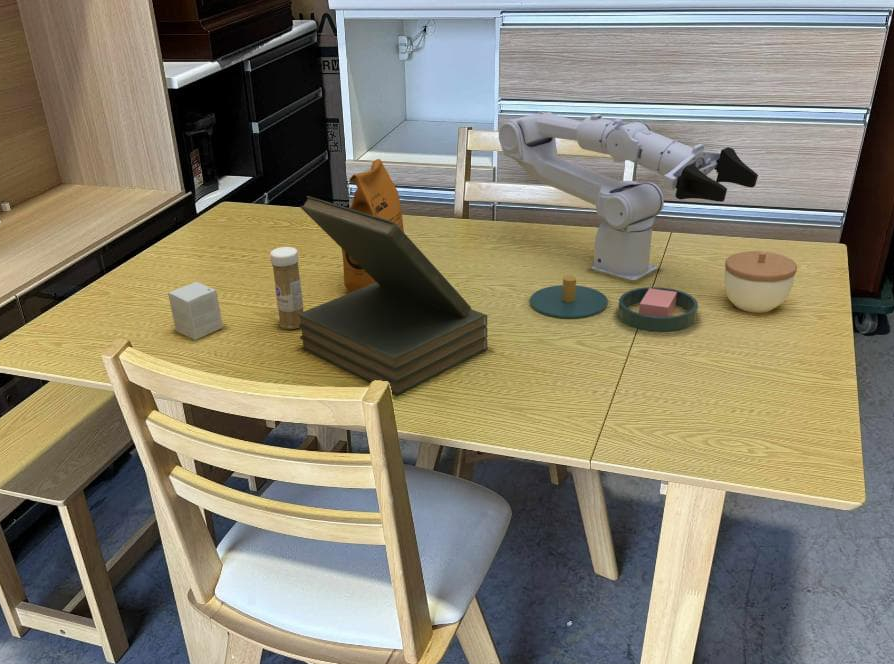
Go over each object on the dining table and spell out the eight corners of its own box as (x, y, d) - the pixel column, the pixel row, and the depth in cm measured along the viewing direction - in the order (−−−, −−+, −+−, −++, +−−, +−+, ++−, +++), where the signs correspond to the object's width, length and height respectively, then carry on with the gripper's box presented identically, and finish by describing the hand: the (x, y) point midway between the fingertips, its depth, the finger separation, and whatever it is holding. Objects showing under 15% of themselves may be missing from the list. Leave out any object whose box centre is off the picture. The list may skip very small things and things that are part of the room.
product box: (204, 319, 154) (197, 280, 150) (224, 328, 150) (217, 289, 146) (174, 331, 150) (166, 292, 147) (194, 341, 147) (186, 301, 143)
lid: (514, 307, 150) (514, 280, 147) (561, 284, 157) (562, 258, 154) (575, 329, 141) (577, 300, 139) (622, 303, 148) (625, 275, 146)
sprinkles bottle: (274, 326, 150) (263, 252, 143) (292, 316, 152) (283, 243, 146) (293, 332, 147) (283, 257, 140) (311, 322, 150) (303, 249, 143)
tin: (602, 320, 143) (604, 304, 142) (645, 297, 150) (646, 281, 149) (668, 342, 135) (670, 325, 134) (709, 316, 142) (712, 299, 141)
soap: (637, 322, 141) (639, 303, 139) (647, 306, 146) (649, 288, 144) (666, 326, 139) (668, 307, 137) (674, 310, 144) (677, 291, 142)
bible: (487, 350, 137) (487, 194, 124) (396, 396, 126) (386, 231, 114) (390, 310, 152) (381, 168, 139) (301, 348, 142) (283, 198, 129)
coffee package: (336, 293, 160) (324, 175, 149) (367, 269, 169) (358, 155, 158) (384, 300, 156) (376, 179, 145) (413, 275, 165) (408, 159, 154)
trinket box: (794, 321, 139) (805, 266, 134) (723, 319, 141) (732, 265, 136) (782, 294, 148) (792, 241, 143) (715, 293, 150) (723, 241, 145)
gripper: (645, 147, 138) (716, 177, 130) (704, 124, 145) (775, 151, 136) (638, 188, 143) (705, 220, 135) (695, 163, 149) (763, 192, 141)
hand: (740, 188), depth 136 cm, fingers open, 7 cm apart
